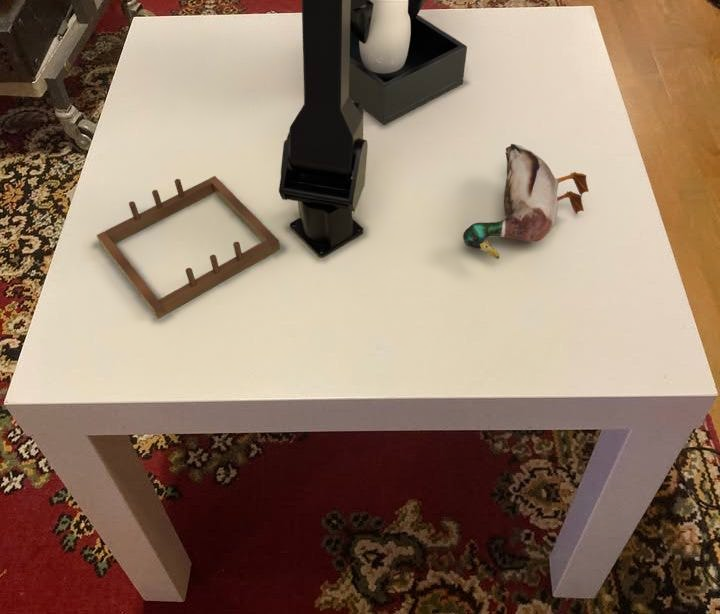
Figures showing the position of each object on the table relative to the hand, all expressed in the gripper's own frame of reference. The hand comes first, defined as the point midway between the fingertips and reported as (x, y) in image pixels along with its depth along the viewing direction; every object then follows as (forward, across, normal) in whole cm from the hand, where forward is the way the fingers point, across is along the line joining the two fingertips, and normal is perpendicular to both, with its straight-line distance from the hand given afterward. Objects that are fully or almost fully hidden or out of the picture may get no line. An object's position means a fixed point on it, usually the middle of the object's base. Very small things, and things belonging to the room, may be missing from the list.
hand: (387, 30), depth 97 cm
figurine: (+4, 0, 0) cm, 4 cm away
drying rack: (+8, +39, +11) cm, 41 cm away
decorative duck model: (+8, +7, +31) cm, 33 cm away
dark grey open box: (+7, 0, 0) cm, 7 cm away
